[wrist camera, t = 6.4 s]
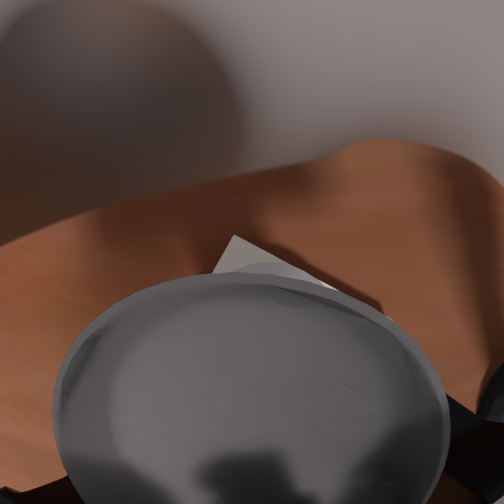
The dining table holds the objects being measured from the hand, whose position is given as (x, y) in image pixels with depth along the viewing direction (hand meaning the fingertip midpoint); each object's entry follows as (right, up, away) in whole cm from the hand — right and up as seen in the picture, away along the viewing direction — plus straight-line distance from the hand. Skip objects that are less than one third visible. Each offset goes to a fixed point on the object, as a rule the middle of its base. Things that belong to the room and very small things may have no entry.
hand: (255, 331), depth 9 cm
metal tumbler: (+1, -3, +7) cm, 8 cm away
